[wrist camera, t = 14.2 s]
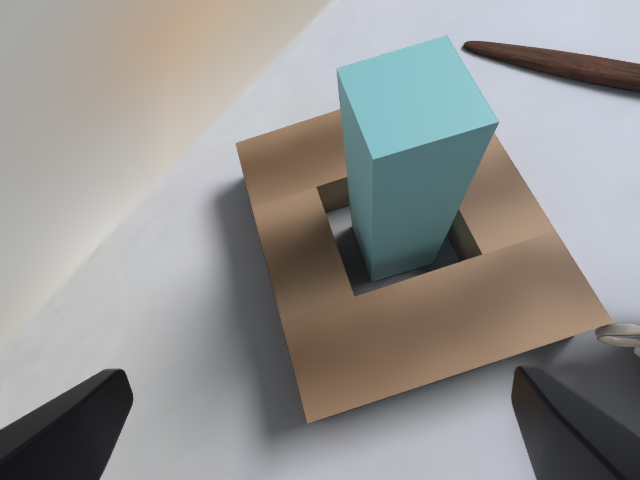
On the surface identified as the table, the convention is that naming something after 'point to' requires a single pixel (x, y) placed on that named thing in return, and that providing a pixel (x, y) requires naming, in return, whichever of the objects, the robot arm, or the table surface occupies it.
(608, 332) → the chinaware
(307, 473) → the table surface
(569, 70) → the spoon
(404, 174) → the teal peg
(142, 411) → the table surface
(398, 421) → the table surface
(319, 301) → the walnut socket block
